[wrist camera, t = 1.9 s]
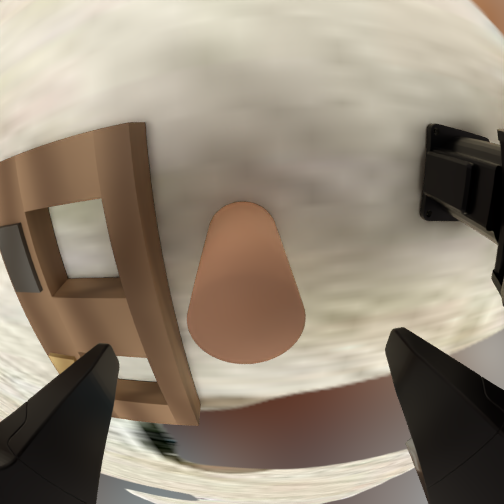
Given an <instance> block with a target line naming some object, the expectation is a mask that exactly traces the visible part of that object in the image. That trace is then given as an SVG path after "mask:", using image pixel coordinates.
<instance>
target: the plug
mask: <svg viewBox="0 0 504 504" xmlns="http://www.w3.org/2000/svg"><path fill="white" fill-rule="evenodd" d="M187 325H188V329H189V332H190V334H191V337H192V338H193V340H194V341H195V343H196V344H197V345H198V346H199V347H200V348H201V349H202V350H204V351H205V352H206V353H208V354H209V355H211V356H213V357H215V358H217V359H220V360H223V361H226V362H230V363H237V364H253V363H260V362H264V361H268V360H270V359H273V358H275V357H277V356H279V355H281V354H283V353H284V352H286V351H287V350H288V349H290V348H291V347H292V346H293V345H294V344H295V343H296V342H297V340H298V339H299V337H300V336H301V334H302V332H303V329H304V325H305V309H304V306H303V303H302V300H301V297H300V294H299V291H298V288H297V285H296V282H295V279H294V276H293V273H292V270H291V267H290V265H289V262H288V259H287V256H286V253H285V250H284V247H283V244H282V242H281V239H280V236H279V233H278V230H277V228H276V225H275V222H274V220H273V218H272V216H271V215H270V214H269V213H268V212H267V211H266V210H265V209H264V208H263V207H261V206H259V205H257V204H255V203H251V202H234V203H231V204H228V205H226V206H224V207H223V208H221V209H220V210H219V211H218V212H217V213H216V214H215V215H214V216H213V218H212V220H211V222H210V225H209V229H208V232H207V236H206V240H205V244H204V248H203V251H202V255H201V259H200V263H199V267H198V271H197V275H196V279H195V283H194V287H193V292H192V296H191V300H190V304H189V309H188V313H187Z"/></svg>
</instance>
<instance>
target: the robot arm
mask: <svg viewBox="0 0 504 504" xmlns="http://www.w3.org/2000/svg"><path fill="white" fill-rule="evenodd" d="M434 129H435V130H436V133H435V134H434ZM497 132H498V140H499V141H500V145H498V144H495V143H490V142H489V140H488V139H487V138H485V137H482V136H479V135H476V134H472V133H469V132H466V131H462V130H459V129H455V128H451V127H447V126H443V125H439V124H430V125H429V126H428V129H427V151H426V165H425V177H424V186H423V195H422V203H421V210H420V215H421V217H422V218H423V219H424V220H426V221H461V222H463V223H465V224H466V225H468V226H470V227H471V228H473V229H474V230H476V231H477V232H479V233H481V234H482V235H484V236H485V237H487V238H488V239H490V240H491V241H493V242H494V243H496V244H497V245H498V249H497V256H496V262H495V268H494V270H493V272H492V278H491V279H492V281H493V283H494V284H495V286H496V288H497V290H498V292H499V293H500V295H501V297H502V303H503V306H504V129H497ZM427 211H428V214H427V215H426V213H427ZM385 353H386V357H387V360H388V364H389V368H390V371H391V375H392V379H393V383H394V387H395V390H396V393H397V396H398V399H399V402H400V404H401V407H402V410H403V413H404V416H405V419H406V421H407V425H408V427H409V430H410V434H411V437H412V440H413V443H414V446H415V449H416V453H417V456H418V459H419V463H420V466H421V470H422V473H423V477H424V481H425V485H426V488H427V493H428V497H429V501H430V504H504V390H503V389H501V388H499V387H497V386H496V385H494V384H493V383H491V382H489V381H488V380H486V379H485V378H483V377H481V376H480V375H479V374H477V373H475V372H474V371H472V370H470V369H469V368H468V367H466V366H464V365H463V364H461V363H460V362H458V361H457V360H455V359H454V358H452V357H450V356H449V355H447V354H446V353H444V352H443V351H441V350H439V349H438V348H436V347H435V346H433V345H431V344H430V343H428V342H427V341H425V340H424V339H422V338H420V337H419V336H417V335H416V334H414V333H412V332H411V331H409V330H407V329H406V328H404V327H400V328H395V329H393V330H392V331H391V333H390V336H389V339H388V341H387V344H386V348H385ZM118 373H119V361H118V359H117V357H116V354H115V352H114V350H113V348H112V346H111V345H110V344H106V343H98V344H97V345H95V346H94V347H93V348H92V349H90V350H89V351H88V352H87V353H85V354H84V355H83V356H82V357H80V358H79V359H78V360H77V361H75V362H74V363H73V364H72V365H70V366H69V367H68V368H67V369H65V370H64V371H63V372H62V373H61V374H59V375H58V376H57V377H56V378H54V379H53V380H52V381H51V382H50V383H48V384H47V385H46V386H45V387H43V388H42V389H41V390H40V391H39V392H37V393H36V394H35V395H34V396H33V397H31V398H30V399H29V400H28V402H25V403H24V404H23V405H22V406H20V407H19V408H18V409H17V410H16V411H14V412H13V413H12V414H11V415H9V416H8V417H6V418H5V419H4V420H2V421H1V422H0V504H96V500H97V492H98V485H99V478H100V472H101V466H102V460H103V455H104V449H105V444H106V439H107V434H108V430H109V425H110V421H111V416H112V412H113V407H114V401H115V394H116V386H117V380H118Z"/></svg>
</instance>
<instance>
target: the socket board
mask: <svg viewBox="0 0 504 504" xmlns="http://www.w3.org/2000/svg"><path fill="white" fill-rule="evenodd" d="M100 198H102V203H103V208H104V213H105V218H106V223H107V228H108V232H109V237H110V241H111V245H112V250H113V254H114V258H115V261H116V265H117V269H118V273H119V276H120V277H117V278H75V279H68V277H67V274H66V271H65V268H64V265H63V262H62V259H61V256H60V252H59V249H58V246H57V242H56V238H55V235H54V231H53V227H52V223H51V219H50V215H49V210H48V207H52V206H57V205H63V204H68V203H74V202H80V201H86V200H93V199H100ZM0 252H1V255H2V258H3V261H4V264H5V267H6V269H7V272H8V275H9V277H10V280H11V282H12V285H13V287H14V290H15V292H16V294H17V297H18V299H19V301H20V303H21V306H22V308H23V310H24V312H25V314H26V316H27V318H28V320H29V322H30V324H31V326H32V328H33V330H34V332H35V334H36V336H37V338H38V339H39V341H40V343H41V345H42V346H43V348H44V350H45V352H46V353H47V355H48V357H49V358H50V360H51V362H52V363H53V365H54V366H55V368H56V370H57V371H58V373H59V374H61V373H62V372H63V371H64V370H65V369H67V368H68V367H69V366H70V365H72V364H73V363H74V362H75V361H77V360H78V359H79V358H80V357H82V356H83V355H84V354H85V353H87V352H88V351H89V350H90V349H92V348H93V347H94V346H95V345H97V344H98V343H106V344H110V345H111V346H112V348H113V350H114V352H115V354H116V356H126V357H142V358H147V359H148V361H149V364H150V366H151V368H152V371H153V373H154V376H155V378H156V380H157V382H145V381H133V380H123V379H118V380H117V386H116V394H115V401H114V407H113V412H112V416H111V417H114V418H121V419H127V420H134V421H142V422H151V423H162V424H177V425H195V426H198V425H199V416H200V405H201V404H200V401H199V398H198V395H197V392H196V389H195V386H194V382H193V379H192V376H191V372H190V369H189V365H188V362H187V358H186V355H185V351H184V348H183V344H182V340H181V336H180V332H179V328H178V324H177V320H176V316H175V312H174V308H173V304H172V299H171V295H170V290H169V286H168V281H167V276H166V271H165V266H164V261H163V256H162V250H161V245H160V239H159V233H158V227H157V221H156V215H155V208H154V201H153V194H152V186H151V178H150V170H149V161H148V151H147V140H146V127H145V122H131V123H124V124H119V125H115V126H110V127H106V128H101V129H97V130H93V131H89V132H86V133H82V134H78V135H75V136H71V137H68V138H64V139H61V140H58V141H55V142H52V143H49V144H46V145H43V146H40V147H37V148H34V149H31V150H29V151H26V152H23V153H21V154H18V155H16V156H13V157H11V158H8V159H6V160H4V161H1V162H0Z"/></svg>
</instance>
